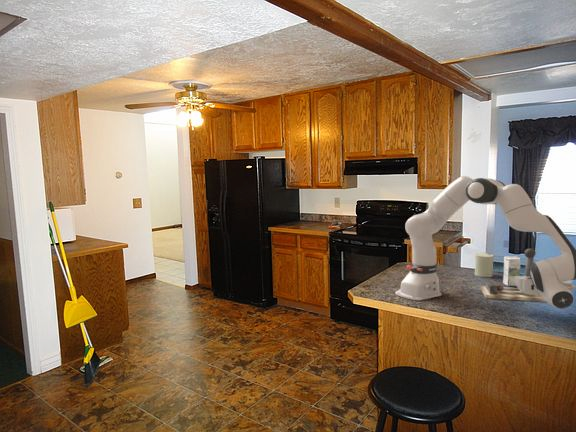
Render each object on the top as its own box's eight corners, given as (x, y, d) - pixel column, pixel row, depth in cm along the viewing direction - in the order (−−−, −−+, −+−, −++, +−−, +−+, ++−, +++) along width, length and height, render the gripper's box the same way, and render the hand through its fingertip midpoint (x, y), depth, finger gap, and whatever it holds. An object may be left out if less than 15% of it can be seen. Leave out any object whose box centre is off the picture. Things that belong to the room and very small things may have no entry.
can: (496, 276, 217) (497, 255, 215) (481, 277, 215) (482, 256, 214) (485, 272, 226) (486, 251, 224) (471, 273, 224) (471, 252, 223)
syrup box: (514, 283, 204) (515, 255, 202) (519, 286, 198) (520, 258, 196) (502, 283, 205) (503, 255, 203) (507, 286, 199) (508, 258, 197)
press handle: (531, 288, 186) (533, 246, 184) (536, 293, 179) (539, 250, 176) (517, 287, 188) (519, 246, 186) (522, 292, 181) (524, 249, 178)
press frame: (540, 292, 188) (540, 281, 188) (550, 302, 175) (550, 290, 174) (480, 288, 196) (480, 278, 195) (485, 298, 182) (486, 286, 182)
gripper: (579, 281, 154) (565, 272, 167) (520, 278, 160) (511, 269, 173) (578, 296, 155) (564, 286, 168) (519, 293, 161) (511, 283, 174)
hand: (537, 278), depth 171 cm, fingers open, 8 cm apart
